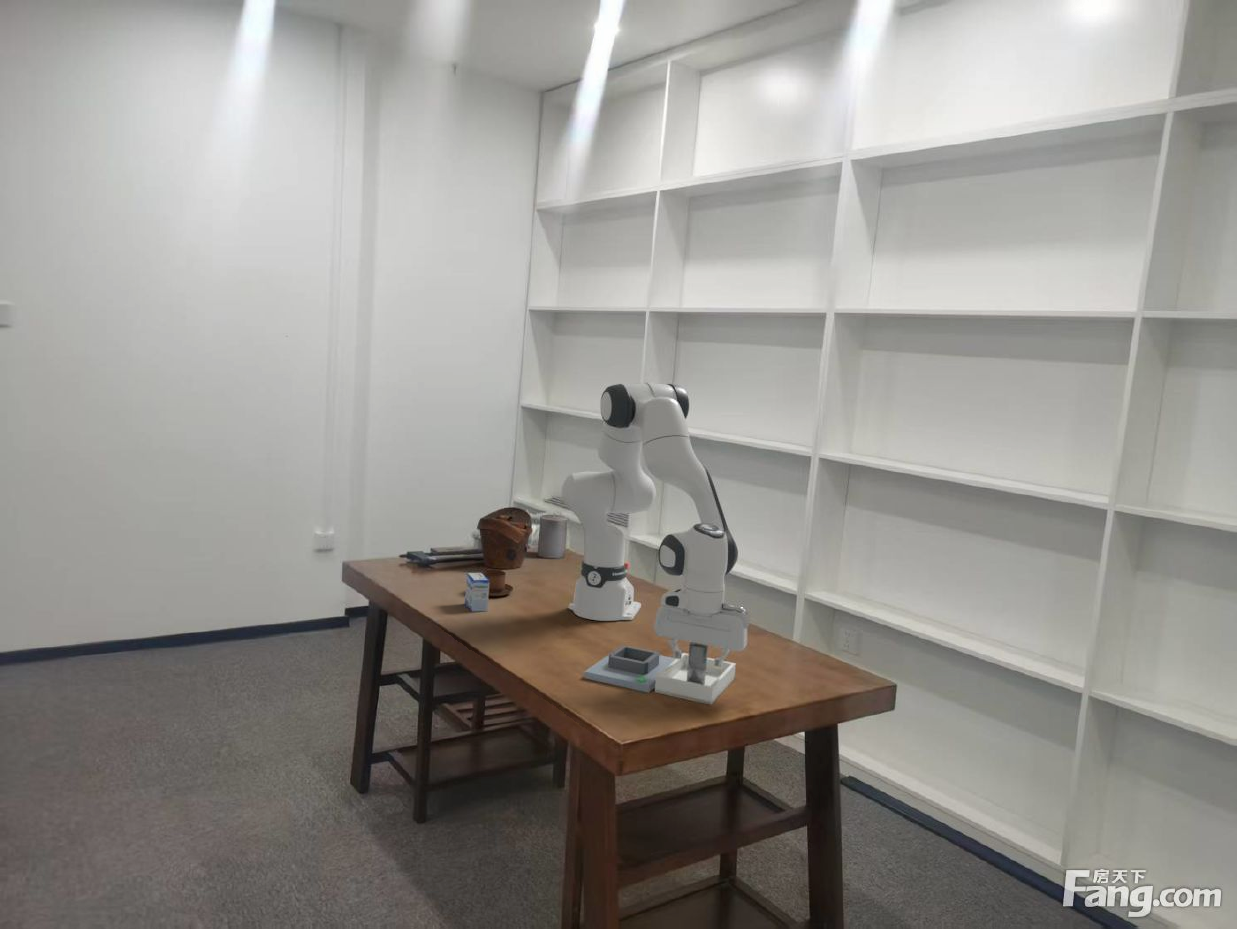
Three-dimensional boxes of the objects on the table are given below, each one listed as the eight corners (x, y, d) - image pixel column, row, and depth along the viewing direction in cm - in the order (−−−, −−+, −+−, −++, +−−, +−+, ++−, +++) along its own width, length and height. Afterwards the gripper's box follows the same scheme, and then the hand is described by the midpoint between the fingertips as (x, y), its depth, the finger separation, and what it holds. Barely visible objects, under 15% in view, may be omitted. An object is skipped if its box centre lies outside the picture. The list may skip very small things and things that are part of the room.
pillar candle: (549, 551, 314) (552, 510, 313) (570, 556, 309) (573, 514, 307) (531, 555, 306) (534, 512, 305) (553, 560, 301) (556, 517, 299)
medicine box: (464, 603, 241) (466, 572, 240) (480, 603, 243) (482, 572, 242) (471, 612, 234) (473, 580, 233) (487, 611, 236) (489, 579, 235)
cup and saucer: (466, 588, 257) (467, 568, 256) (506, 587, 261) (508, 567, 261) (475, 600, 246) (476, 578, 245) (517, 598, 250) (518, 577, 250)
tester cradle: (619, 653, 210) (620, 636, 209) (679, 665, 204) (680, 648, 203) (583, 678, 191) (585, 660, 191) (648, 692, 186) (650, 674, 185)
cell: (689, 677, 194) (693, 637, 193) (707, 681, 193) (710, 640, 192) (683, 683, 191) (687, 641, 190) (701, 687, 189) (705, 645, 188)
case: (482, 573, 276) (485, 516, 274) (469, 558, 295) (472, 505, 293) (537, 572, 283) (541, 516, 281) (521, 557, 301) (524, 505, 299)
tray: (681, 667, 203) (683, 652, 202) (734, 678, 198) (735, 663, 198) (654, 692, 186) (656, 676, 186) (711, 704, 181) (712, 688, 181)
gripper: (754, 605, 189) (748, 667, 190) (664, 589, 197) (659, 649, 198) (746, 612, 183) (740, 676, 185) (654, 595, 191) (649, 657, 192)
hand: (697, 662), depth 191 cm, fingers open, 8 cm apart
